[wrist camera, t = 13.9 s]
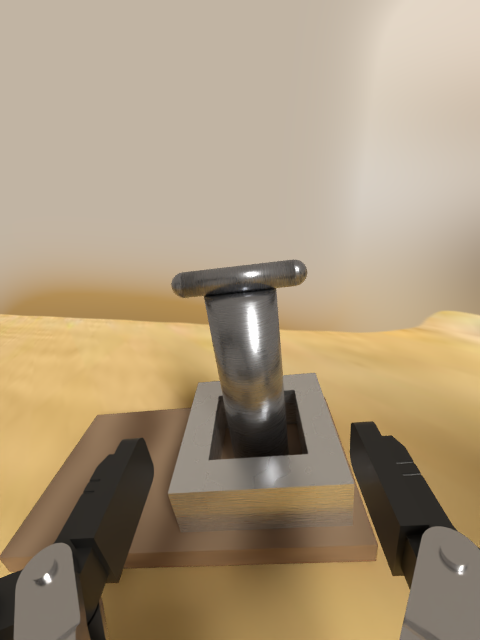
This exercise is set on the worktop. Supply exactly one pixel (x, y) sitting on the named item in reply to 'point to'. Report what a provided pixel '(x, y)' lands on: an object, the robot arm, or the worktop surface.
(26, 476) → the worktop surface
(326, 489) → the stand
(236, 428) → the chuck key
